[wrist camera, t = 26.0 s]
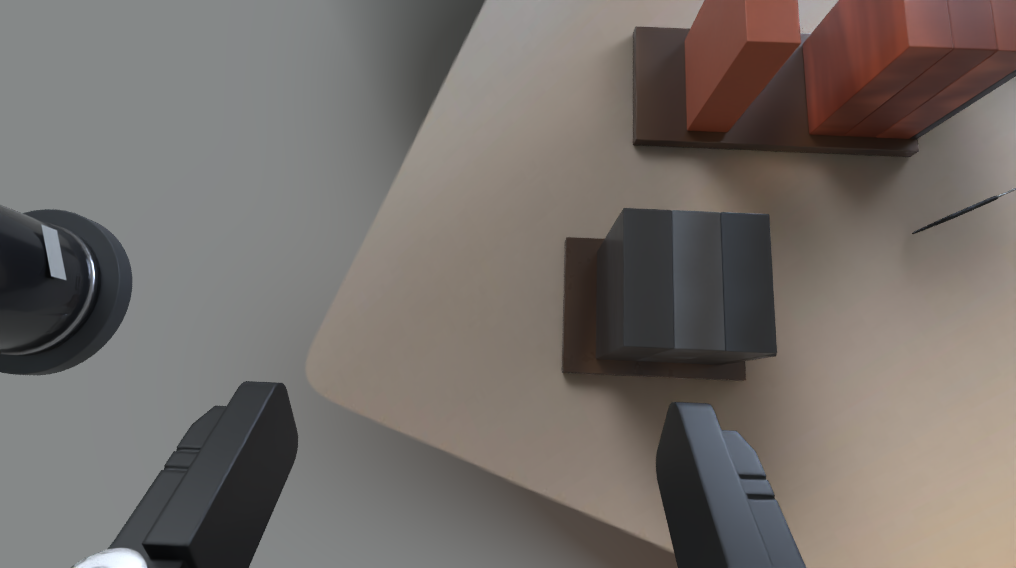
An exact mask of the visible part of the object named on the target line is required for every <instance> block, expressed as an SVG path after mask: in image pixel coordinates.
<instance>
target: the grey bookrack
mask: <svg viewBox="0 0 1016 568" xmlns="http://www.w3.org/2000/svg"><path fill="white" fill-rule="evenodd" d="M776 353H777V345H776V327H775V309H774V291H773V274H772V256H771V238H770V220H769V214H752V213H729V212H721V213H720V212H702V211H679V210H672V211H671V210H657V209H634V208H624V209H623V210H622V212H621V213H620V215H619V217H618V218H617V220H616V222H615V223H614V225H613V226H612V228H611V230H610V231H609V233H608V235H607V236H606V238H605V239H594V238H571V237H567V238H566V240H565V258H564V300H563V342H562V373H579V374H601V375H623V376H645V377H668V378H690V379H712V380H734V381H743V380H746V374H745V361H750V360H756V359H762V358H768V357H774V356H776Z"/></svg>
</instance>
